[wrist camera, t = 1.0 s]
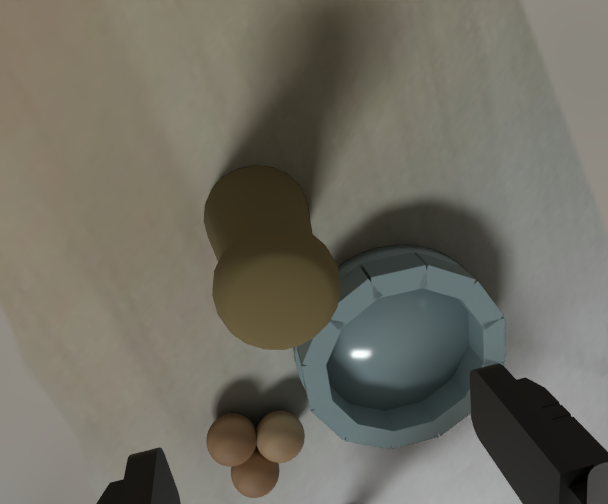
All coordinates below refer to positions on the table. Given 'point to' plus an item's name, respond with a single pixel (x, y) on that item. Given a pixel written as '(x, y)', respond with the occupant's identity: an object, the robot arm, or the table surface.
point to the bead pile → (255, 448)
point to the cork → (268, 260)
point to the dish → (400, 347)
